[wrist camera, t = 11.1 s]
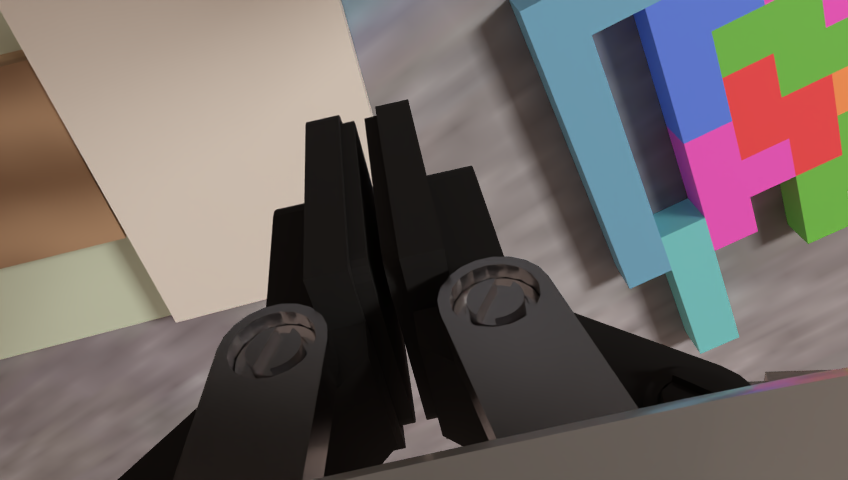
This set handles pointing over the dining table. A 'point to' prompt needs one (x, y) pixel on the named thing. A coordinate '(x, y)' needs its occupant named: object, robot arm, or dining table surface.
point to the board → (195, 122)
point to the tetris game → (704, 129)
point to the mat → (72, 288)
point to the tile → (43, 176)
